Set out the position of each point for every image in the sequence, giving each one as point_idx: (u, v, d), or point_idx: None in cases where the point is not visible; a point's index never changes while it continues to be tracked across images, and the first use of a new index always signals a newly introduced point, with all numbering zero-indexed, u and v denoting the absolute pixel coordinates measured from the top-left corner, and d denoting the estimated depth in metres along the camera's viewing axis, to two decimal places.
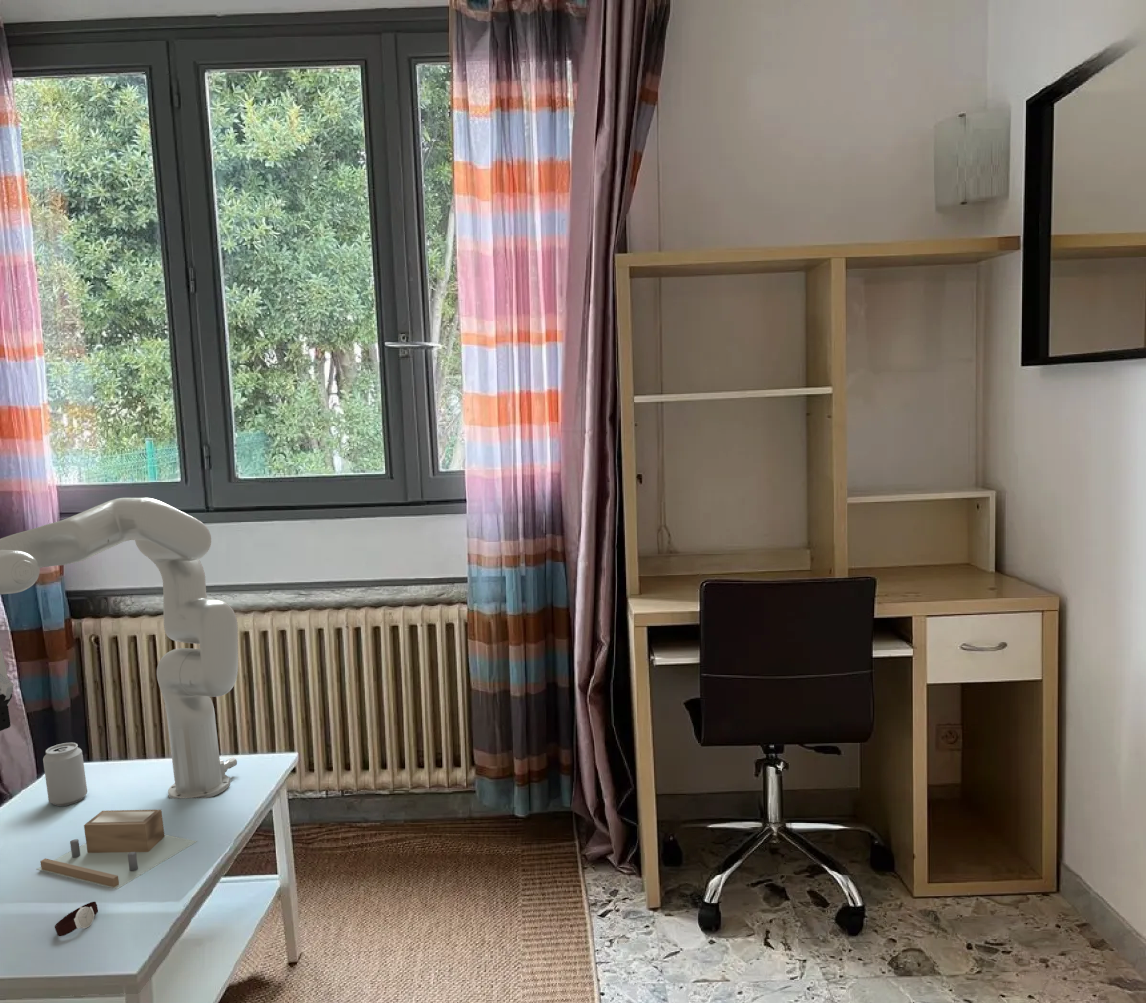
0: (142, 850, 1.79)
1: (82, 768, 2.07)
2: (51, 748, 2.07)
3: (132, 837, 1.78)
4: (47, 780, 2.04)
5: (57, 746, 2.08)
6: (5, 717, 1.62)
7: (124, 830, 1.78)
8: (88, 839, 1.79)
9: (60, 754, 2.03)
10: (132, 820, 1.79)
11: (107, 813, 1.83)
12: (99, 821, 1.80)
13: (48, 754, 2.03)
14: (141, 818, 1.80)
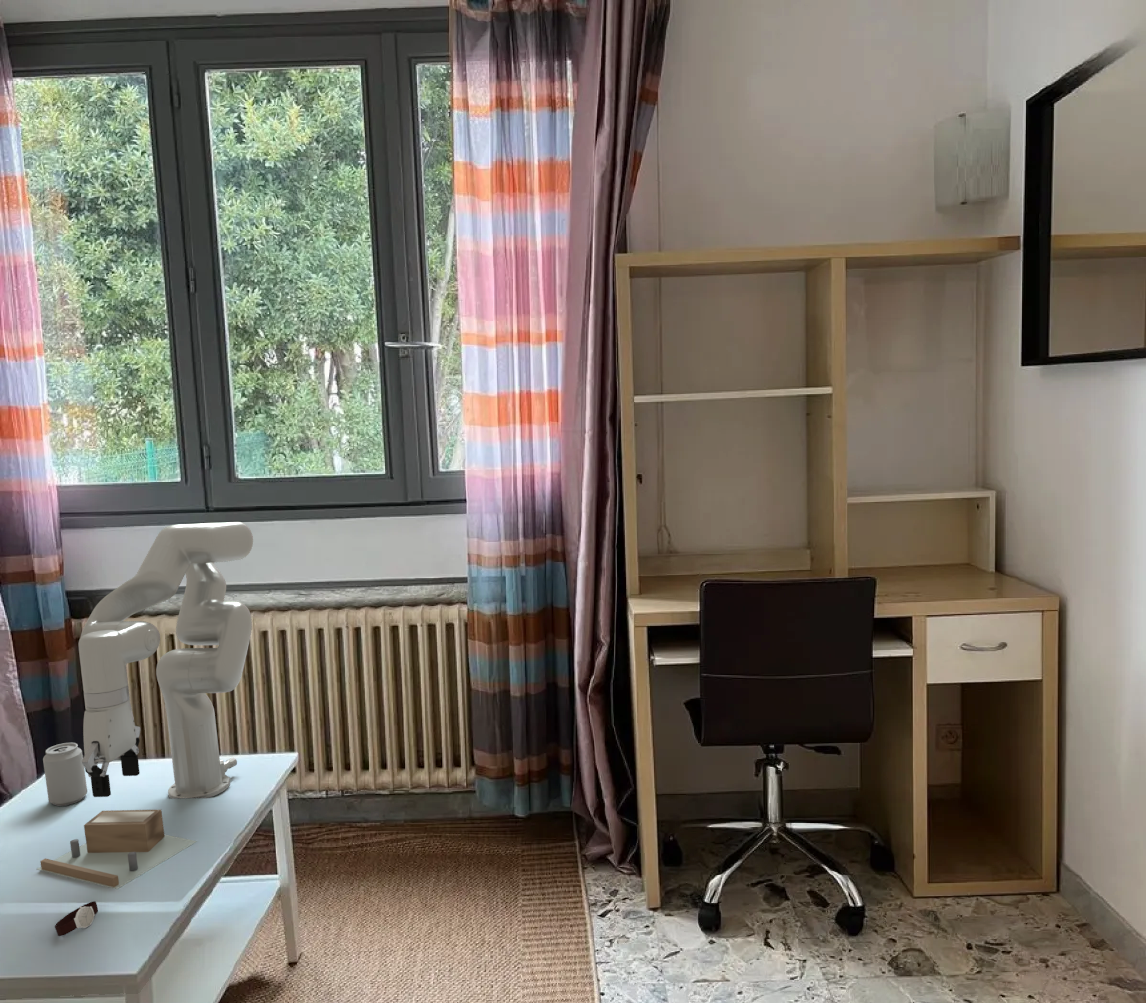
0: (142, 850, 1.79)
1: (82, 768, 2.07)
2: (51, 748, 2.07)
3: (132, 837, 1.78)
4: (47, 780, 2.04)
5: (57, 746, 2.08)
6: None
7: (124, 830, 1.78)
8: (88, 839, 1.79)
9: (60, 754, 2.03)
10: (132, 820, 1.79)
11: (107, 813, 1.83)
12: (99, 821, 1.80)
13: (48, 754, 2.03)
14: (141, 818, 1.80)
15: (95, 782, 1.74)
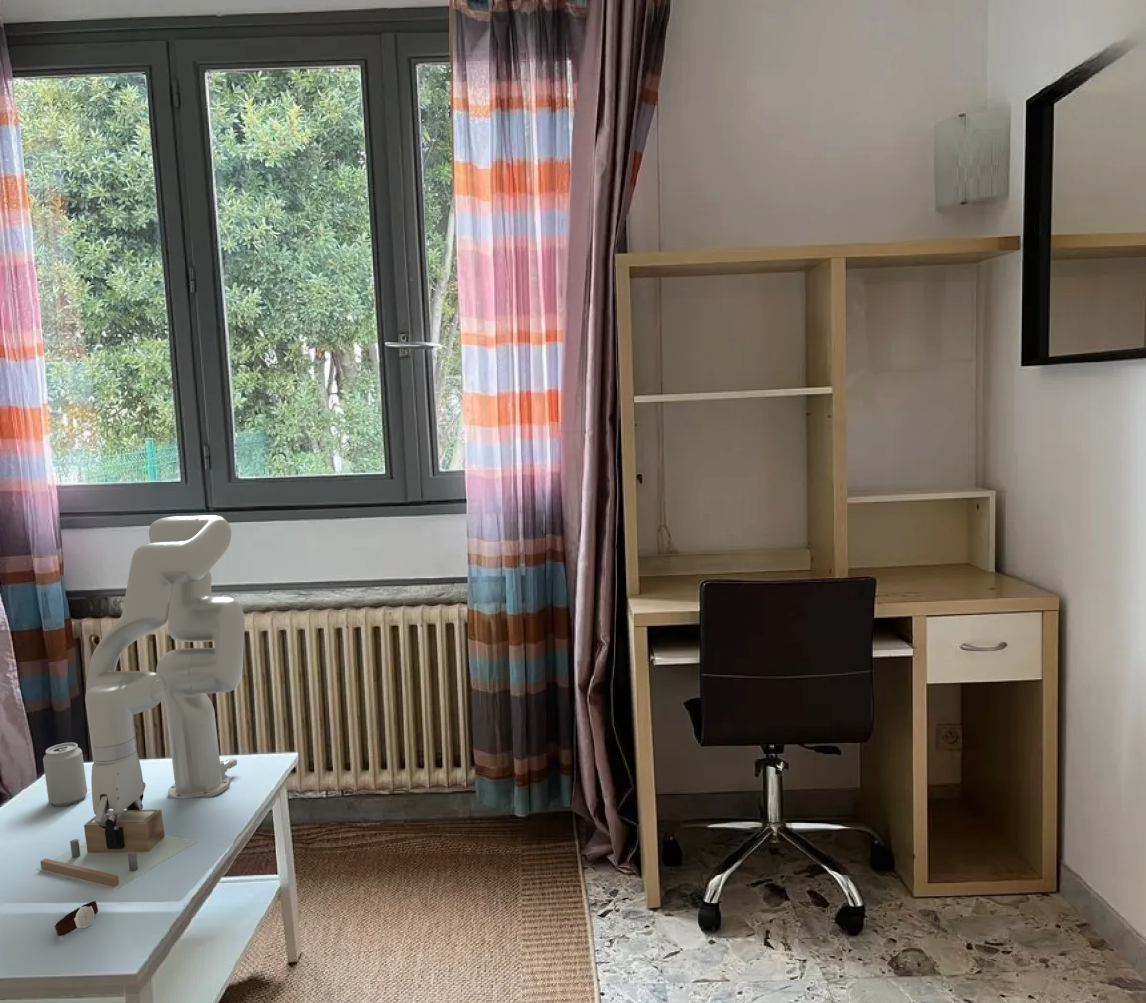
0: (142, 850, 1.79)
1: (82, 768, 2.07)
2: (51, 748, 2.07)
3: (132, 837, 1.78)
4: (47, 780, 2.04)
5: (57, 746, 2.08)
6: None
7: (124, 830, 1.78)
8: (88, 839, 1.79)
9: (60, 754, 2.03)
10: (132, 820, 1.79)
11: None
12: None
13: (48, 754, 2.03)
14: (141, 818, 1.80)
15: (109, 835, 1.77)
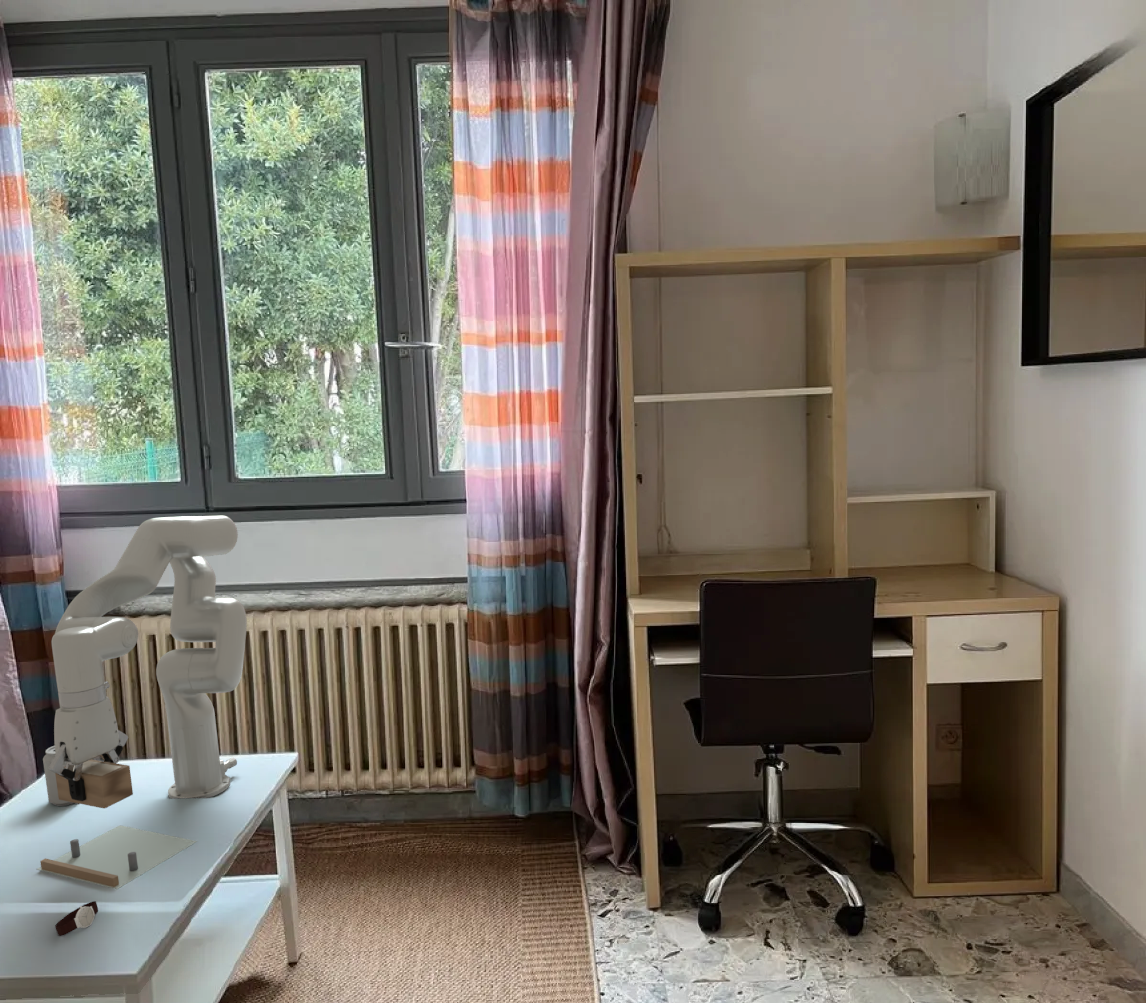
0: (100, 806, 1.69)
1: None
2: (51, 748, 2.07)
3: (91, 790, 1.69)
4: (47, 780, 2.04)
5: None
6: None
7: (85, 783, 1.70)
8: (58, 786, 1.73)
9: None
10: (95, 773, 1.70)
11: None
12: None
13: (48, 754, 2.03)
14: (104, 772, 1.70)
15: (70, 785, 1.69)
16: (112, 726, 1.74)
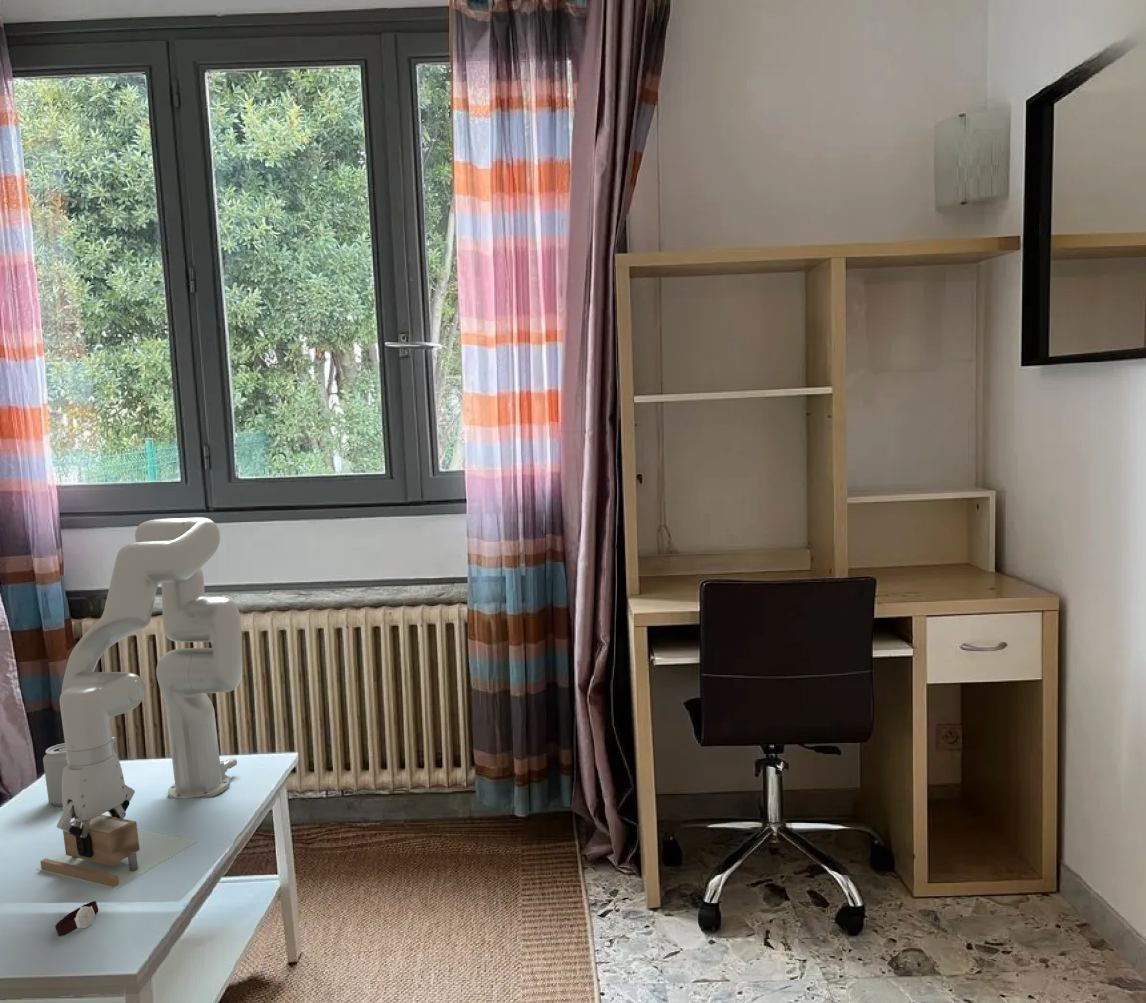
0: (107, 863, 1.70)
1: None
2: (51, 748, 2.07)
3: (98, 847, 1.71)
4: (47, 780, 2.04)
5: (57, 746, 2.08)
6: None
7: (93, 839, 1.71)
8: (66, 841, 1.74)
9: (60, 754, 2.03)
10: (102, 829, 1.72)
11: None
12: None
13: (48, 754, 2.03)
14: (111, 828, 1.72)
15: (77, 841, 1.71)
16: (119, 782, 1.76)
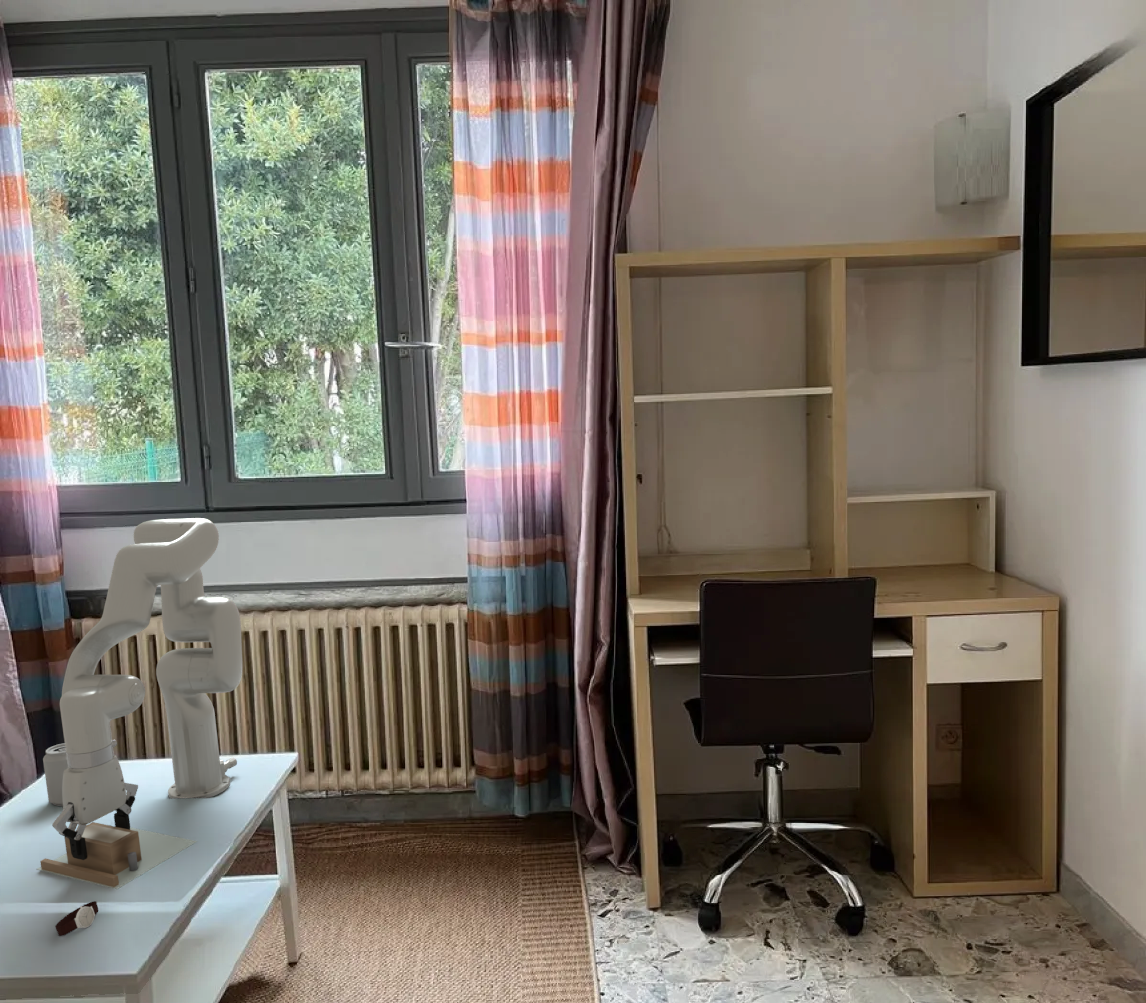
0: (109, 873, 1.71)
1: None
2: (51, 748, 2.07)
3: (101, 857, 1.71)
4: (47, 780, 2.04)
5: (57, 746, 2.08)
6: None
7: (95, 849, 1.71)
8: (68, 851, 1.75)
9: (60, 754, 2.03)
10: (104, 839, 1.72)
11: (93, 826, 1.78)
12: None
13: (48, 754, 2.03)
14: (113, 839, 1.72)
15: (71, 844, 1.70)
16: (119, 784, 1.76)
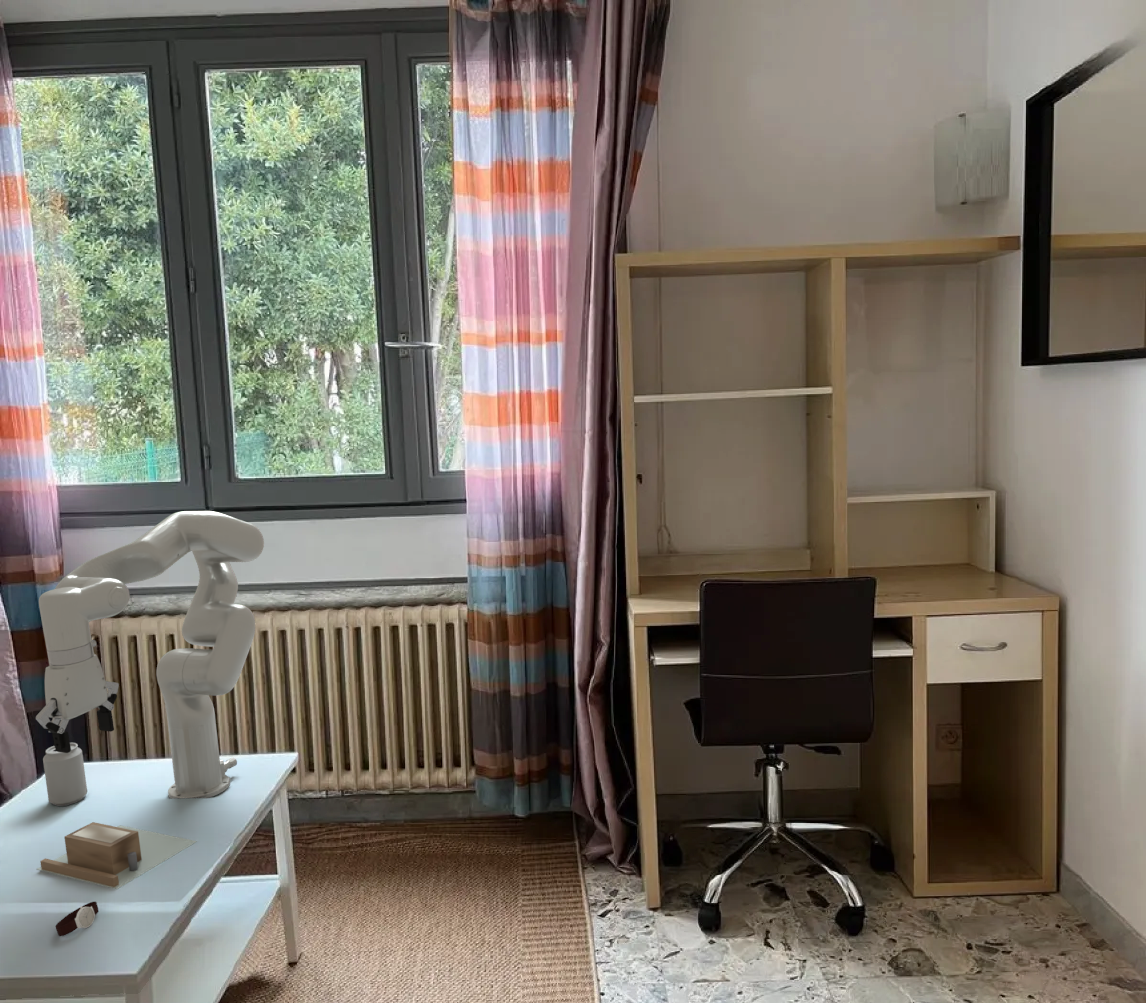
0: (109, 873, 1.71)
1: (82, 768, 2.07)
2: (51, 748, 2.07)
3: (101, 857, 1.71)
4: (47, 780, 2.04)
5: None
6: None
7: (95, 849, 1.71)
8: (68, 851, 1.75)
9: (60, 754, 2.03)
10: (104, 839, 1.72)
11: (93, 826, 1.78)
12: (78, 835, 1.75)
13: (48, 754, 2.03)
14: (113, 839, 1.72)
15: (54, 737, 1.75)
16: (101, 682, 1.81)
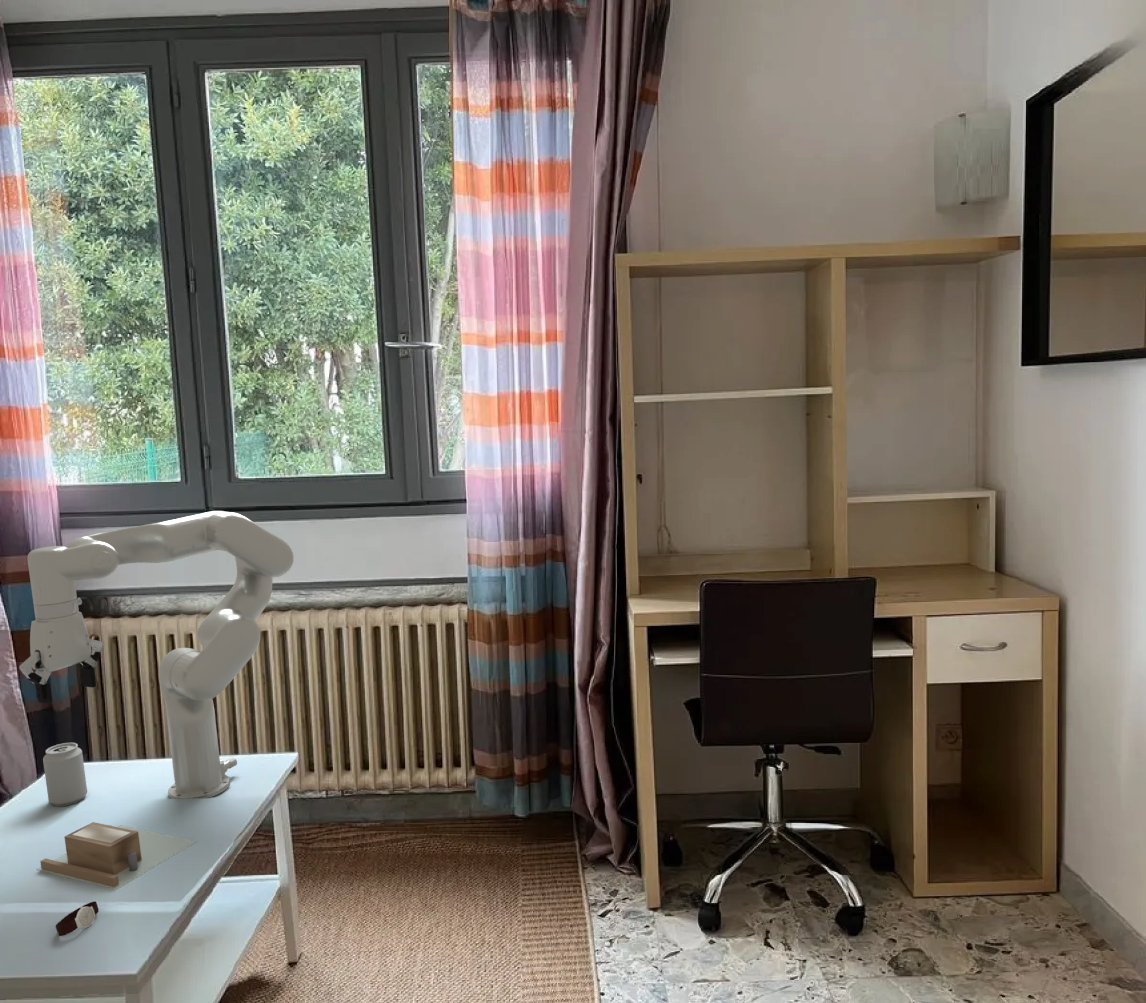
0: (109, 873, 1.71)
1: (82, 768, 2.07)
2: (51, 748, 2.07)
3: (101, 857, 1.71)
4: (47, 780, 2.04)
5: (57, 746, 2.08)
6: None
7: (95, 849, 1.71)
8: (68, 851, 1.75)
9: (60, 754, 2.03)
10: (104, 839, 1.72)
11: (93, 826, 1.78)
12: (78, 835, 1.75)
13: (48, 754, 2.03)
14: (113, 839, 1.72)
15: (37, 688, 1.83)
16: (84, 639, 1.89)
